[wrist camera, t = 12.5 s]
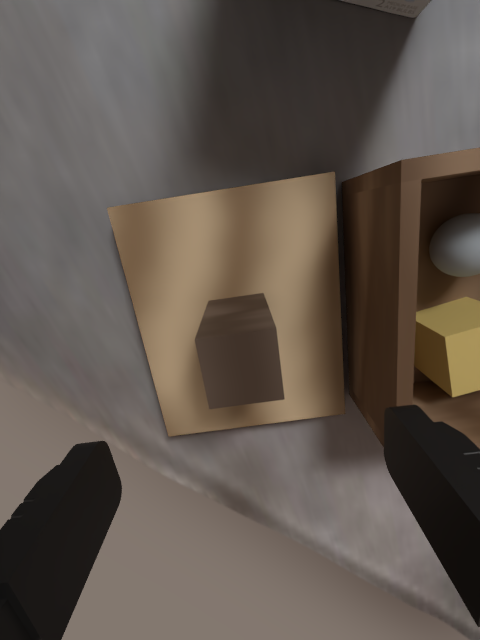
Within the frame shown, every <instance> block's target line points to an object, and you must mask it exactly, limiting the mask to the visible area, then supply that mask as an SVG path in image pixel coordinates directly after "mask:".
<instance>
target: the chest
mask: <svg viewBox="0 0 480 640" xmlns="http://www.w3.org/2000/svg"><path fill="white" fill-rule="evenodd" d="M342 206H343V233H344V260H345V287H346V314H347V341H348V368H349V394H350V396H351V398H352V399H353V401H354V402H355V404H356V405H357V407H358V408H359V410H360V411H361V413H362V415H363V416H364V418H365V419H366V421H367V422H368V424H369V425H370V427H371V428H372V430H373V432H374V433H375V435H376V436H377V438H378V439H379V441H380V442H381V444H382V445H383V447H384V412H385V409H386V408H388V407H396V406H405V405H413V404H415V405H417V406H419V407H420V408H421V409H422V410H423V411H424V412H425V413H426V414H427V415H428V417H429V418H430V419H431V420H432V421H433V422H440V421H443V422H444V423H446V424H448V425H450V426H451V427H453V428H455V429H457V430H458V431H460V432H462V433H464V434H465V435H466V436H467V437H468V438H469V439H470V440H471V441H472V442H473V443H474V444H475V445H476V446H477V447H478V448H479V449H480V390H478V391H474V392H471V393H467V394H463V395H460V396H456V397H451V396H450V395H449V394H448V393H446V392H445V391H444V390H443V389H442V388H440V387H439V386H438V385H437V384H435V383H434V382H433V381H432V380H431V379H429V378H428V377H427V376H426V375H425V374H423V373H422V372H421V371H420V370H418V369H417V368H416V367H415V366H414V355H415V330H416V312H418V311H421V310H424V309H428V308H431V307H434V306H438V305H441V304H444V303H448V302H451V301H454V300H457V299H461V298H464V297H469V298H472V299H475V300H478V301H480V274H477V275H474V276H469V277H457V276H451V275H448V274H446V273H444V272H442V271H440V270H439V269H438V268H437V267H436V266H435V265H434V264H433V262H432V260H431V257H430V254H429V246H430V241H431V239H432V237H433V235H434V233H435V232H436V230H437V229H438V228H439V227H440V226H441V225H442V224H443V223H445V222H446V221H448V220H449V219H451V218H453V217H456V216H459V215H462V214H468V213H480V148H474V149H468V150H462V151H455V152H449V153H443V154H437V155H430V156H424V157H418V158H412V159H405V160H400V161H398V162H395V163H392V164H390V165H387V166H384V167H381V168H379V169H376V170H373V171H371V172H368V173H365V174H362V175H360V176H357V177H354V178H352V179H349V180H346V181H343V182H342Z"/></svg>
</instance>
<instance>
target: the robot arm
mask: <svg viewBox="0 0 480 640" xmlns="http://www.w3.org/2000/svg"><path fill="white" fill-rule="evenodd" d="M384 457H385V461H386V465H387V468H388V471H389V473H390V475H391V477H392V479H393V481H394V482H395V484H396V486H397V488H398V489H399V491H400V493H401V495H402V496H403V498H404V500H405V501H406V503H407V505H408V507H409V508H410V510H411V512H412V514H413V515H414V517H415V519H416V520H417V522H418V524H419V526H420V527H421V529H422V531H423V533H424V534H425V536H426V538H427V539H428V541H429V543H430V545H431V546H432V548H433V550H434V552H435V553H436V555H437V557H438V559H439V560H440V562H441V564H442V565H443V567H444V569H445V571H446V572H447V574H448V576H449V578H450V579H451V581H452V583H453V584H454V586H455V588H456V590H457V591H458V593H459V595H460V597H461V598H462V600H463V602H464V603H465V605H466V607H467V609H468V610H469V612H470V614H471V616H472V617H473V619H474V621H475V622H476V624H477V626H478V627H480V449H479V448H478V447H477V446H476V445H475V444H474V443H473V442H472V441H471V440H470V439H469V438H468V437H467V436H466V435H465V434H464V433H462V432H460V431H458V430H457V429H455V428H453V427H451V426H450V425H448V424H446V423H444V422H443V421H440V422H433V421H432V420H431V419H430V418H429V417H428V415H427V414H426V413H425V412H424V411H423V410H422V409H421V408H420V407H419V406H417V405H415V404H413V405H405V406H396V407H388V408H386V409H385V412H384ZM121 493H122V486H121V480H120V477H119V474H118V472H117V469H116V466H115V463H114V460H113V457H112V455H111V452H110V449H109V446H108V444H107V443H106V442H105V441H98V442H89V443H81V444H76V445H75V446H73V448H72V449H71V450H70V451H69V453H68V454H67V456H66V457H65V458H64V460H63V461H62V462H61V464H60V465H56V466H55V467H54V468H53V469H52V470H51V471H49V472H48V473H47V474H46V475H45V476H44V477H42V478H41V479H40V480H39V481H38V482H37V483H36V484H35V486H34V487H33V488H32V490H31V491H30V492H29V493H28V495H27V496H26V497H25V499H24V502H23V503H21V504H20V505H19V506H18V508H17V509H16V510H15V511H14V513H13V514H12V515H11V519H10V520H7V522H6V523H5V524H4V526H3V527H2V528H1V530H0V640H61V639H62V637H63V634H64V632H65V630H66V627H67V625H68V623H69V620H70V618H71V615H72V613H73V611H74V608H75V606H76V604H77V601H78V599H79V597H80V595H81V592H82V590H83V588H84V585H85V583H86V581H87V578H88V576H89V574H90V571H91V569H92V567H93V564H94V562H95V560H96V557H97V555H98V553H99V550H100V548H101V546H102V543H103V541H104V539H105V536H106V534H107V532H108V529H109V527H110V525H111V522H112V520H113V518H114V515H115V513H116V511H117V508H118V506H119V503H120V500H121Z"/></svg>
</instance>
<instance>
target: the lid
mask: <svg viewBox="0 0 480 640" xmlns="http://www.w3.org/2000/svg"><path fill="white" fill-rule="evenodd" d="M107 210H108V214H109V217H110V221H111V225H112V228H113V232H114V236H115V240H116V243H117V247H118V251H119V254H120V258H121V262H122V265H123V269H124V273H125V277H126V280H127V284H128V288H129V291H130V295H131V299H132V303H133V306H134V310H135V314H136V317H137V321H138V325H139V328H140V332H141V336H142V340H143V343H144V347H145V351H146V354H147V358H148V362H149V366H150V369H151V373H152V377H153V380H154V384H155V388H156V391H157V395H158V399H159V403H160V406H161V410H162V414H163V417H164V421H165V425H166V429H167V432H168V436H177V435H184V434H192V433H200V432H208V431H215V430H223V429H231V428H239V427H247V426H254V425H262V424H270V423H278V422H285V421H293V420H301V419H309V418H316V417H324V416H332V415H340V414H345V398H344V375H343V351H342V328H341V304H340V280H339V257H338V233H337V210H336V186H335V172H328V173H322V174H316V175H310V176H303V177H297V178H291V179H284V180H278V181H272V182H266V183H259V184H253V185H247V186H241V187H234V188H228V189H222V190H215V191H209V192H203V193H197V194H190V195H184V196H178V197H172V198H165V199H159V200H153V201H146V202H140V203H134V204H128V205H121V206H115V207H109V208H107Z"/></svg>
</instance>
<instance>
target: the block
mask: <svg viewBox="0 0 480 640" xmlns="http://www.w3.org/2000/svg"><path fill="white" fill-rule="evenodd" d="M414 366H415V367H416V368H417V369H418V370H420V371H421V372H422V373H423V374H425V375H426V376H427V377H428V378H429V379H431V380H432V381H433V382H434V383H435V384H437V385H438V386H439V387H440V388H442V389H443V390H444V391H445V392H446V393H448V394H449V395H450V396H451V397H456V396H460V395H463V394H467V393H471V392H474V391H478V390H480V301H478V300H475V299H472V298H469V297H464V298H461V299H457V300H454V301H451V302H448V303H444V304H441V305H438V306H434V307H431V308H428V309H424V310H421V311H418V312H416V330H415V355H414Z"/></svg>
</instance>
